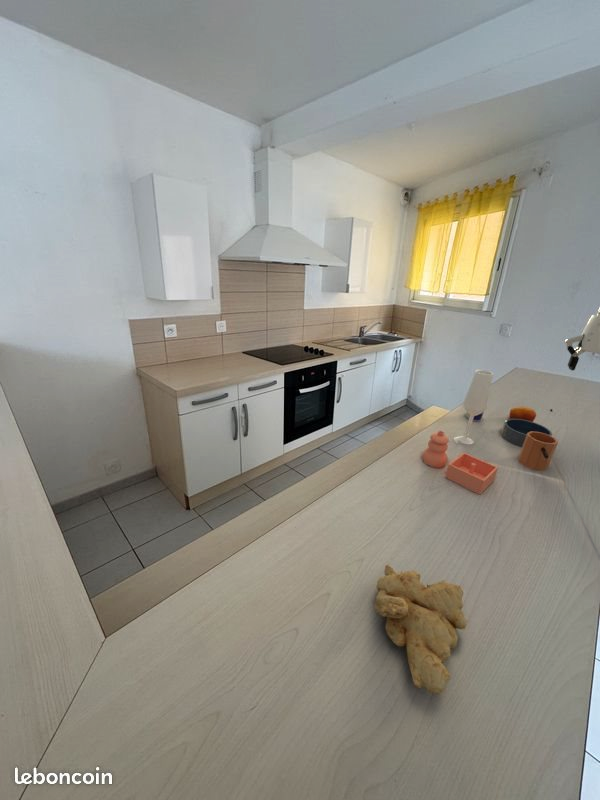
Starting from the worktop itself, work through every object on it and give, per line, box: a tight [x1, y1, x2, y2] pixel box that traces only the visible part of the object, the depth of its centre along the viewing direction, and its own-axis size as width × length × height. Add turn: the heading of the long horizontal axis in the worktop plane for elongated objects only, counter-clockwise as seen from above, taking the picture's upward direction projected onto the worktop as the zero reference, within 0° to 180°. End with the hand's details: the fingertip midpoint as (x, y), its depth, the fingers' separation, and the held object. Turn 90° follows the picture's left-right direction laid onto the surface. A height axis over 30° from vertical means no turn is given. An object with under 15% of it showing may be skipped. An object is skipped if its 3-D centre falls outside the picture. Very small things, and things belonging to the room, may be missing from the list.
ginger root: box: [374, 564, 467, 695], centre depth 49 cm, size 16×16×8 cm
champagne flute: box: [453, 369, 494, 445], centre depth 101 cm, size 7×7×24 cm
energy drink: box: [465, 411, 485, 423], centre depth 119 cm, size 5×5×12 cm
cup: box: [517, 431, 559, 472], centre depth 91 cm, size 7×12×9 cm, turn 155°
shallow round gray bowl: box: [500, 418, 553, 448], centre depth 107 cm, size 13×13×5 cm
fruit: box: [509, 405, 537, 422], centre depth 119 cm, size 8×8×8 cm
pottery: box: [422, 430, 499, 495], centre depth 88 cm, size 18×10×10 cm, turn 42°
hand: (591, 372), depth 94 cm, fingers open, 9 cm apart
